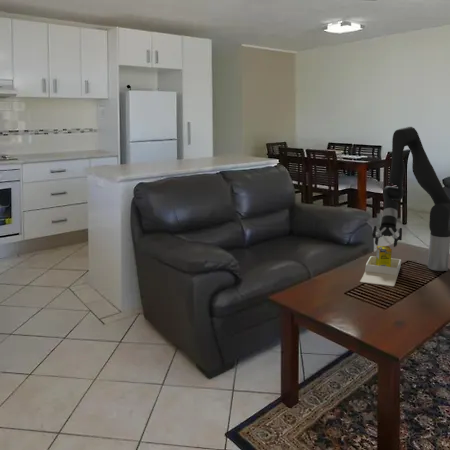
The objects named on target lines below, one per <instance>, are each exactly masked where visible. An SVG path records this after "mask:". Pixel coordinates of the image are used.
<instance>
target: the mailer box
mask: <svg viewBox="0 0 450 450" xmlns="http://www.w3.org/2000/svg"><path fill="white" fill-rule="evenodd" d="M401 265H402V259H399V258H392V257H391V267H385V266H377V265H376V256H373V255H371V256H370V257H369V258H368V260H367V261H366V264H365V268H364V269H365V270H364V273H363V275H362V277H361V278H360V280H359V282H360V283H361V284H369V285H370V284H371V285H378V286H385V287H386V286H387V287H393V288H394V287H395V285H396V282H397V279H398V275H399V273H400V269H401Z"/></svg>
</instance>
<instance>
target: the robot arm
mask: <svg viewBox="0 0 450 450" xmlns="http://www.w3.org/2000/svg"><path fill="white" fill-rule="evenodd" d="M391 142H392V144H391V145H392V146H391V148H392V149H391V150H392V151H391V166H390V172H389V175H388V182H389V183H390V184H392V185H395V186H391V185H386V186H385V187H384V188H383V190H382V197H383V202H384V203H383V204H384V205H383V206H384V207H383V212H382V215H381V222H380V226H376V225H375V226H373V230H372V233H371V237H372V239H374V245H375V246H376V247H377V246H379V240H380V239H381V238H382V237H383V236H384V237H392V238H393V239H394V240H393V247H394V248H396V247H397V246H398V241H402V240H403V228H402V227H400V228H397V223H398V216H399V215H398V211H399V203H398V201H401V200H403V199H404V198H403V197H404V193H405V192H404V187H403V184H404V183H403V182H404V178H405V177H404V176H405V171H406V165H405V162H404V158H403V154H404V150H405V147H408V149H409V151H410V153H411V156H412V162H411V163H412V165H411V166H412V168H411V169H412V173H413V176H414V177H415V179H416V182H417V183H418V185H419V186H420V188H422V189H423V190H424V191H425V192H426V193H427V194H428V196H430V198H431V200H432V202H433V204H434V205H433V206H432V207H431V209H430V212H429V223H428V224H429V230H430V235H429V245H428V246H429V247H428V256H427V257H428V259H427V268H428V269H430V270H432V271H435V272H436V271H437V272H444V271H445V272H448V271H449V262H450V261H449V260H450V259H449V258H450V228H449V222H450V198H449V196H448V194H447V193H446V191H445V189H444V187H443V185H442V183H441V180H440V179H439V177H438V175H437V173H436V171H435V169H434V167H433V165H432V163H431V161H430V159H429V158H428V155H427V153H426V151H425V148H424V146H423V143H422V140H421V138H420V136H419V133H418V131H417V129H416V128H415V127H413V126H407V127H401V128H398V129H396V130H394V132H393V135H392V141H391ZM378 231H379V232H378ZM377 232H378V233H377ZM396 233H398V236H397V234H396Z"/></svg>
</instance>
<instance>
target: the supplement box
mask: <svg viewBox="0 0 450 450" xmlns="http://www.w3.org/2000/svg"><path fill="white" fill-rule="evenodd" d="M392 252H393V249H392V248H391V247H390V246H389V245H378V246H377V245H376V252H375V253H376V254H375V255H376V256H375V257H376V265H377V266H385V267H391V258H392Z"/></svg>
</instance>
